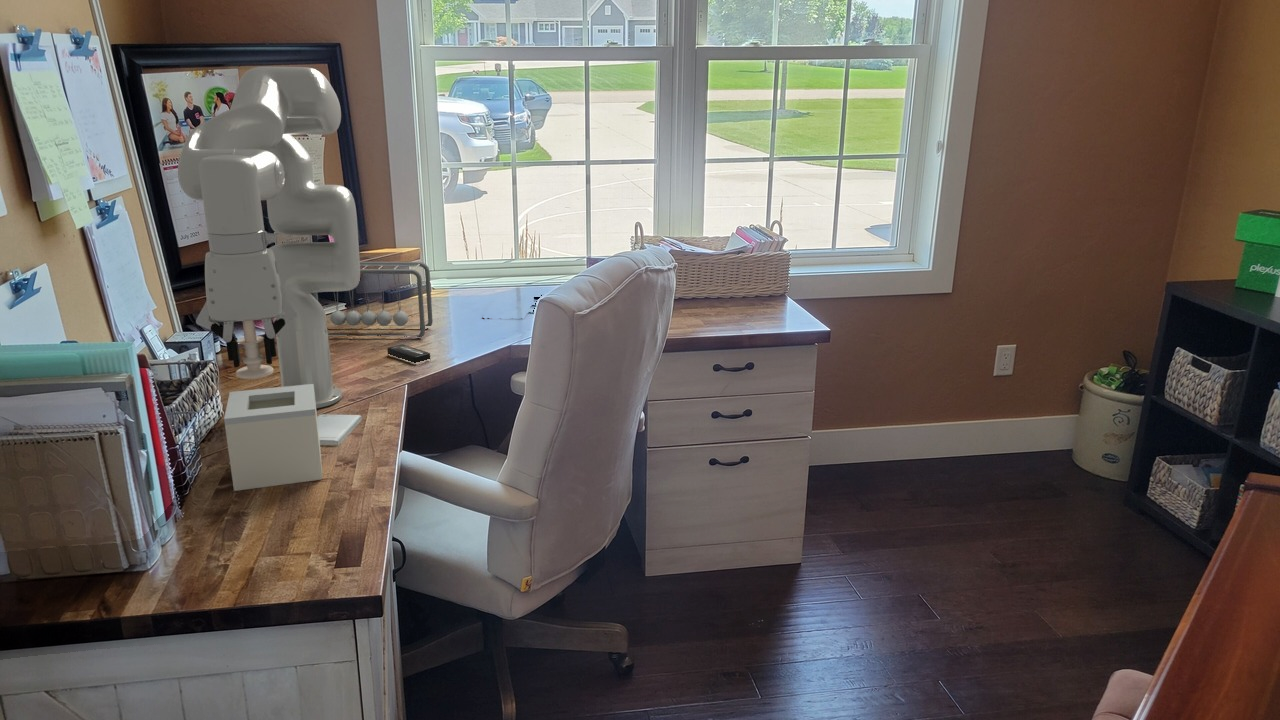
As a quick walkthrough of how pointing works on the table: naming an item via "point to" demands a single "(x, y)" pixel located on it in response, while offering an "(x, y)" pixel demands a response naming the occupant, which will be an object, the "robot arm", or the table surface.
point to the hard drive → (336, 427)
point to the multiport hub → (408, 353)
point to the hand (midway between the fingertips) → (253, 361)
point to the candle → (252, 354)
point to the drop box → (273, 436)
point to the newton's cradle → (383, 316)
